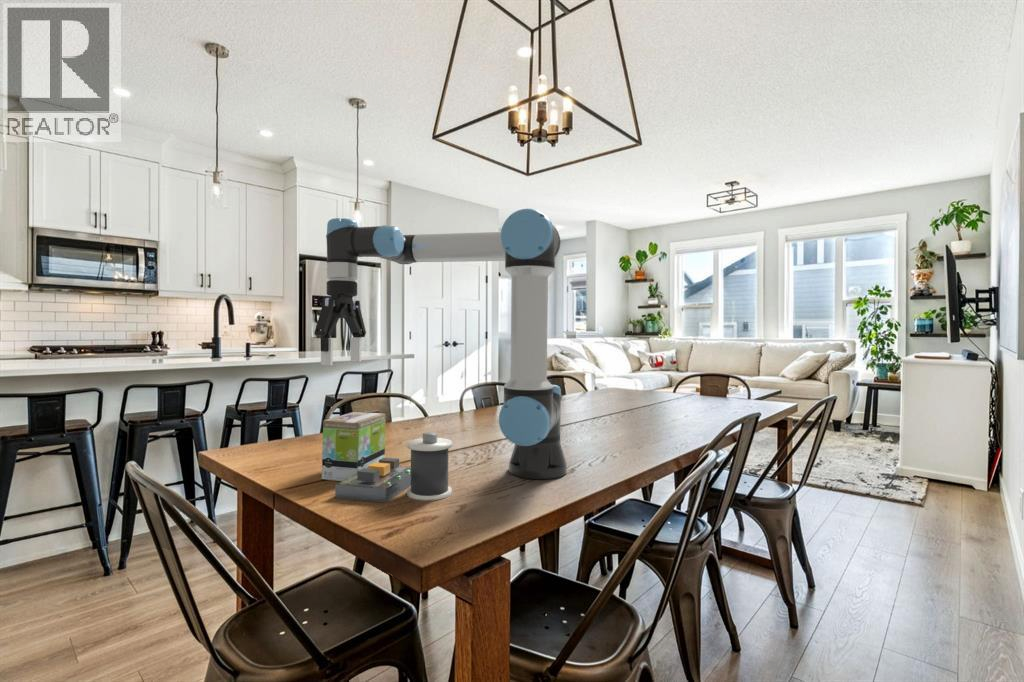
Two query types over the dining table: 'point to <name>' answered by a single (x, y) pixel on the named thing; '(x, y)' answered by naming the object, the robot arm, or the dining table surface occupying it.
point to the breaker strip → (375, 486)
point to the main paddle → (381, 468)
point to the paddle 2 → (390, 462)
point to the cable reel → (429, 468)
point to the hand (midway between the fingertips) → (341, 363)
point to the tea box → (352, 444)
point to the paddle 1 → (368, 475)
